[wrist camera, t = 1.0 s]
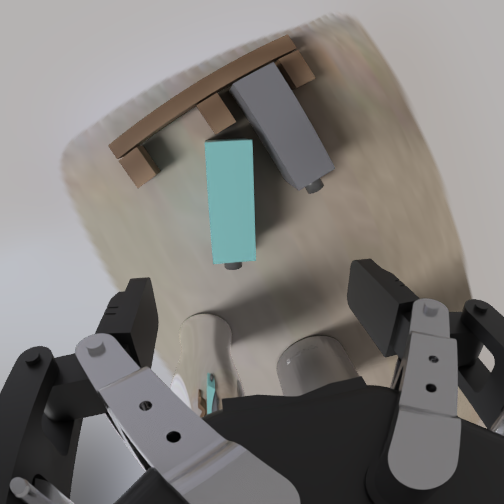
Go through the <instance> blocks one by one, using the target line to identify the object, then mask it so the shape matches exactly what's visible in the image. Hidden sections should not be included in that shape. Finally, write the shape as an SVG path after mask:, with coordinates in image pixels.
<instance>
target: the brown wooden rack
mask: <svg viewBox="0 0 504 504" xmlns="http://www.w3.org/2000/svg"><path fill="white" fill-rule="evenodd" d="M295 49H296V46H295V45H294V43H293V42H292V40H291V39H290V37H289V36H288V34H287V35H285V36H283V37H281V38H279V39H276V40H274V41H272V42H270V43H268V44H266V45H264V46H262V47H260V48H258V49H256V50H254V51H252V52H250V53H248V54H246V55H244V56H242V57H240V58H238V59H237V60H235V61H233V62H231V63H229V64H227V65H226V66H224V67H222V68H220V69H218V70H217V71H215V72H213V73H212V74H210V75H208V76H207V77H205V78H203V79H202V80H200V81H198V82H197V83H195V84H193V85H192V86H190V87H189V88H187V89H185V90H184V91H182V92H181V93H179V94H178V95H176V96H175V97H173V98H172V99H170V100H169V101H167V102H166V103H164V104H163V105H161V106H160V107H158V108H157V109H156V110H154V111H153V112H151V113H150V114H149V115H147V116H146V117H144V118H143V119H142V120H140V121H139V122H138V123H136V124H135V125H134V126H132V127H131V128H130V129H128V130H127V131H126V132H124V133H123V134H122V135H121V136H119V137H118V138H117V139H116V140H114V141H113V142H112V143H111V144H109V145H108V146H109V148H110V149H111V151H112V152H113V154H114V155H115V156H116V158H117V159H119V158H122V157H123V158H122V159H120V160H119V162H120V164H121V165H122V167H123V168H124V169H125V171H126V172H127V174H128V175H129V177H130V178H131V179H132V181H133V182H134V184H135V185H136V186H137V188H139V187H141V186H142V185H143V184H145V183H146V182H147V181H149V180H150V179H151V178H153V177H154V176H155V175H157V174H158V173H159V172H160V169H159V168H158V167H157V165H156V164H155V162H154V161H153V159H152V158H151V156H150V155H149V154H148V152H147V151H146V149H145V148H144V146H143V145H142V146H139V145H140V144H142V143H143V142H144V141H146V140H147V139H149V138H150V137H151V136H153V135H154V134H155V133H157V132H158V131H160V130H161V129H162V128H164V127H165V126H167V125H168V124H170V123H171V122H173V121H174V120H176V119H177V118H179V117H180V116H182V115H183V114H185V113H186V112H188V111H189V110H191V109H192V108H194V107H195V106H197V108H198V109H199V111H200V112H201V114H202V115H203V117H204V118H205V120H206V121H207V123H208V124H209V126H210V127H211V129H212V130H213V132H214V133H215V134H217V133H219V132H221V131H222V130H224V129H225V128H227V127H229V126H230V125H232V124H234V123H235V122H236V121H235V119H234V118H233V116H232V115H231V113H230V111H229V110H228V108H227V107H226V105H225V104H224V102H223V101H222V99H221V98H220V96H219V95H218V92H220V91H221V90H223V89H225V88H226V87H228V86H230V85H232V84H233V83H235V82H237V81H239V80H240V79H242V78H244V77H246V76H248V75H249V74H251V73H253V72H255V71H257V70H259V69H261V68H263V67H265V66H267V65H269V64H270V63H272V62H275V61H276V62H275V65H276V67H277V68H278V70H279V71H280V73H281V74H282V76H283V77H284V79H285V81H286V82H287V84H288V85H289V87H290V89H291V90H293V89H295V88H298V87H300V86H301V85H303V84H305V83H307V82H309V81H311V80H313V79H315V76H314V75H313V73H312V71H311V70H310V68H309V66H308V65H307V63H306V62H305V60H304V58H303V57H302V55H301V54H300V52H299V51H298V50H297V51H295V52H293V51H294V50H295Z"/></svg>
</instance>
